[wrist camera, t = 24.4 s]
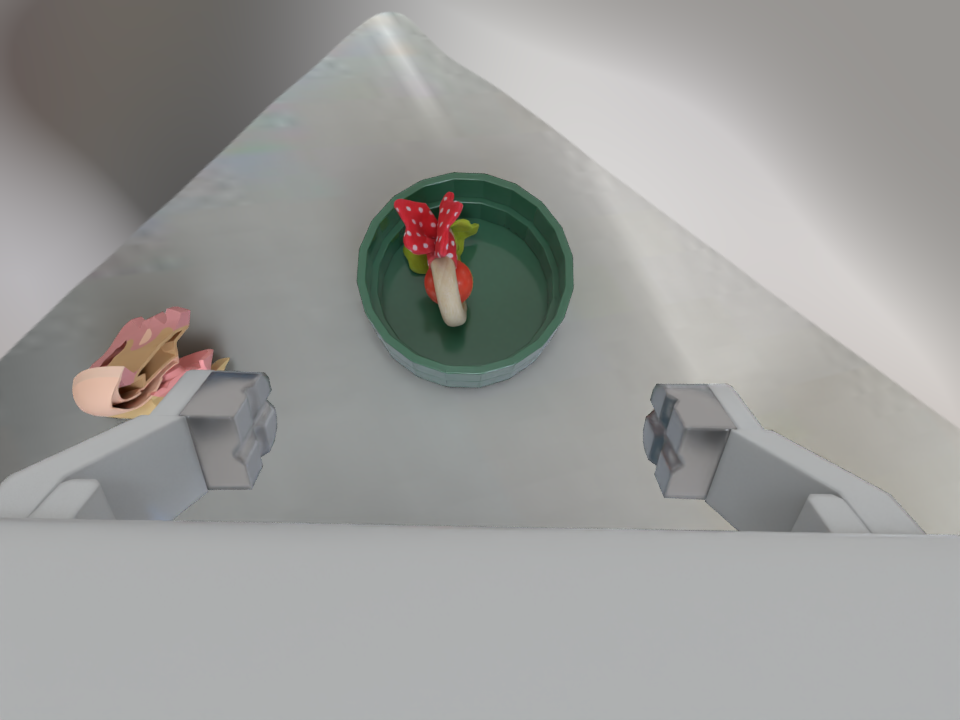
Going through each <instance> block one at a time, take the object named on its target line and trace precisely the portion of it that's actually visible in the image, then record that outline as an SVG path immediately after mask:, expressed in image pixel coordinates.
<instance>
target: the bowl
mask: <svg viewBox="0 0 960 720" xmlns="http://www.w3.org/2000/svg"><path fill="white" fill-rule="evenodd" d="M447 192H453V193H454V200H453V201H458V202H460V203H462V204H463V209H462V211H461V213H460V215H459V217H458V218H457V219H456V220H455V221H457V220H459V219H465V220H468V221H469V222H470V224H473V223H477V224H479V228H478V231H477V233H476V234H474V235H472V236H469V237H468V238H466V239H465V240H464V250H463V252H462V254H461V256H460V258H461V262H463V263H464V264H465V265H466V266H467V267H468V268H469V270H470V271H471V274H472V277H473V289H472V292H471V294H470V296H469V297H468V298H467V299H466V303H467V318H466V321H465V323H464V324H463V325H460V326H455V327H451V326H448V325H447V324H446V323H445V322H444V320H443V318H442V315H441V312H440V309H439V305H438V304H437V303H435V302H434V301H433V300H432V299H431V298H430V297H429V296H428V294H427V292H426V289H425V285H424V280H425V275H426V274H419V273H415V272H413V271H412V270H411V269H410V267H409V262H408V259H407V258H406V256H405V255H404V253H403V247H404V242H403V238H404V234H405V231H406V226H405V224H404V222H403V221H402V219H401V217H400V216H399V214H398V212H397V211H396V209H395V207H394V202H395V200H397V199H405V200H410V201H414V202H420V203H426V204H427V206H428V207H429V209H430V210H431V212H432V213H433V214H434V216H435V218H436V219H437V221H438V217H439V206H440V203H441V201H442V199H443V197H444V195H445V194H446V193H447ZM357 284H358V288H359V292H360V296H361V300H362V303H363V307H364V311H365V313H366V315H367V317H368V319H369V321H370V323H371V325H372V327H373V329H374V330H375V332H376V334H377V335H378V337H379V338H380V340H381V341H382V343H383V344H384V346H385V347H386V349H387V350H388V352H389V353H390V355H391V356H392V357H393V358H394V359H395V360H396V361H397V362H399V363H400V364H401V365H403V366H404V367H405V368H407V369H408V370H409V371H411V372H412V373H413V374H415V375H416V376H418V377H420V378H423V379H426V380H429V381H431V382H434V383H437V384H440V385H443V386H446V387H470V388H478V387H483V386H486V385H490V384H493V383H497V382H500V381H504V380H507V379H510V378H511V377H513V376H514V375H515V374H517V373H518V372H520V371H521V370H523V369H524V368H526V367H527V366H529V365H530V364H532V363H533V362H534V361H535V360H536V359H537V357H538V356H539V355H540V353H541V352H542V351H543V349H544V348H545V347H546V345H547V344H548V343H549V341H550V340H551V339H552V337H553V336H554V334H555V332H556V331H557V329H558V327H559V326H560V324H561V322H562V321H563V319H564V317H565V314H566V310H567V307H568V304H569V301H570V298H571V295H572V292H573V288H574V284H573V255H572V253H571V250H570V247H569V245H568V242H567V239H566V236H565V234H564V231H563V228H562V227H561V225H560V224H559V223H558V221H557V220H556V219H555V218H554V216H553V215H552V214H551V213H550V211H549V210H548V209H547V207H546V206H545V205H544V204H543V203H542V202H541V201H540V200H539V199H537V198H536V197H534V196H533V195H531V194H530V193H528V192H527V191H526V190H524V189H523V188H521V187H520V186H518V185H517V184H515V183H512V182H509V181H506V180H503V179H500V178H497V177H494V176H491V175H488V174H482V173H456V172H453V173H448V174H444V175H440V176H436V177H432V178H428V179H424V180H422V181H419V182H417V183H416V184H414V185H412V186H410V187H409V188H407V189H405V190H404V191H402V192H400V193H399V194H397V195H395V196H394V197H393V198H392V199H391V200H390V201H389V202H388V203H387V204H386V205H385V206H384V208H383V209H382V210H381V211H380V212H379V213H378V214H377V215H376V216H375V218H374V219H373V220H372V221H371V223H370V226H369V228H368V230H367V233H366V235H365V237H364V239H363V242H362V244H361V246H360V248H359V258H358V270H357Z"/></svg>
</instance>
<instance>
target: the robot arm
mask: <svg viewBox="0 0 960 720" xmlns="http://www.w3.org/2000/svg"><path fill="white" fill-rule="evenodd" d="M271 390H272V389H271V385H270V381H269V377H268V376H267V375H266V374H265V373H264V372H243V371H222V370H217V371H215V370H189V371H186V372H185V373H184V375H183V376H182V377H181V378H180V379H179V380H178V382H177V383H176V384H175V385H174V386H173V388H172V389H171V390H170V391H169V392H168V393H167V395H166V396H165V397H164V398H163V399H162V400H161V402H160V403H159V404H158V405H157V406H156V407H155V409H154V410H153V411H152V412H151V413H150V414H149V415H140V416H138V417H135V418H133V419H131V420H129V421H127V422H124V423H122V424H120V425H118V426H116V427H114V428H111V429H109V430H107V431H105V432H103V433H101V434H98V435H96V436H94V437H92V438H90V439H88V440H85V441H83V442H81V443H79V444H77V445H74V446H72V447H70V448H68V449H66V450H64V451H61V452H59V453H57V454H55V455H53V456H51V457H48V458H46V459H44V460H42V461H40V462H38V463H35V464H33V465H31V466H29V467H27V468H24V469H22V470H20V471H18V472H16V473H14V474H11V475H9V476H8V477H7V478H6V479H5V480H4V481H3V482H2V483H1V484H0V720H960V535H933V534H926V533H925V532H924V531H923V530H922V529H921V527H920V526H919V525H918V524H917V523H916V522H915V521H914V520H913V519H912V517H911V516H910V515H909V514H908V513H907V512H906V511H905V510H904V509H903V508H902V506H901V505H900V504H899V503H898V502H897V501H896V500H895V499H894V498H893V496H892V495H891V494H889V493H887V492H885V491H883V490H882V489H880V488H878V487H876V486H874V485H872V484H871V483H869V482H867V481H865V480H863V479H861V478H859V477H858V476H856V475H854V474H852V473H850V472H848V471H846V470H845V469H843V468H841V467H839V466H837V465H835V464H834V463H832V462H830V461H828V460H826V459H824V458H822V457H821V456H819V455H817V454H815V453H813V452H811V451H809V450H808V449H806V448H804V447H802V446H800V445H798V444H797V443H795V442H793V441H791V440H789V439H787V438H785V437H784V436H782V435H780V434H778V433H776V432H774V431H773V430H764V428H763V427H762V426H761V424H760V423H759V422H758V420H757V419H756V418H755V416H754V415H753V414H752V412H751V411H750V410H749V408H748V407H747V406H746V404H745V403H744V402H743V400H742V399H741V398H740V396H739V395H738V394H737V392H736V391H735V390H734V388H733V387H732V386H730V385H728V384H656V386H655V387H654V389H653V392H652V395H651V399H650V401H651V403H652V405H653V407H654V410H653V411H652V412H651V413H650V414H649V415H648V416H646V419H645V424H644V428H643V444H644V449H645V453H646V455H647V458H648V460H649V461H651V462H652V463H653V464H655V465H656V466H657V467H656V471H655V474H654V475H655V477H656V480H657V482H658V484H659V487H660V489H661V491H662V494H663V496H664V498H679V499H701V500H705V502H706V503H707V504H709V505H710V506H711V507H712V508H713V509H714V510H715V511H716V512H718V513H719V514H720V515H721V516H722V517H723V518H724V519H725V520H727V521H728V522H729V523H730V524H731V525H732V526H733V527H734V528H736V529H737V530H738V531H715V530H659V529H603V528H547V527H492V526H437V525H383V524H328V523H273V522H219V521H172V520H173V519H174V518H175V517H177V516H178V515H179V514H181V513H182V512H183V511H184V510H186V509H187V508H188V507H189V506H191V505H192V504H193V503H195V502H196V501H197V500H198V499H200V498H201V497H202V496H203V495H205V494H206V493H207V492H208V490H245V489H252V488H253V486H254V484H255V482H256V480H257V477H258V475H259V473H260V471H261V469H262V467H263V464H262V459H261V457H262V456H264V455H265V454H267V453H268V452H270V451H271V448H272V446H273V444H274V442H275V437H276V431H277V416H276V410H275V407H274V406H273V405H272V404H271V403H270V402H269V401H268V400H267V398H268V396H269V394H270V392H271Z"/></svg>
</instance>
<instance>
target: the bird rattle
mask: <svg viewBox="0 0 960 720" xmlns="http://www.w3.org/2000/svg"><path fill="white" fill-rule="evenodd" d="M453 200H454V193H453V192H447V193H446V194H445V195H444V197H443V199H442V201H441V203H440V206H439V217H438V221H437V219H436V218H435V216H434V214H433V213H432V212H431V210H430V209H429V207H428V206H427V204H426V203H420V202H414V201H410V200H405V199H397V200H395V202H394V207H395V209H396V211H397V212H398V214H399V216H400V217H401V219H402V221H403V222H404V224H405V226H406V231H405V234H404V238H403V242H404V247H403V253H404V255H405V256H406V258H407V259H408V262H409V267H410V269H411V270H412V271H413V272H415V273H419V274H426V275H425V280H424V285H425V289H426V292H427V294H428V296H429V297H430V298H431V299H432V300H433V301H434V302H435V303H437V304H438V305H439V309H440V312H441V315H442V318H443V320H444V322H445V323H446V324H447V325H448V326H451V327H455V326H460V325H463V324H464V323H465V321H466V318H467V303H466V299H467V298H468V297H469V296H470V294H471V292H472V289H473V277H472V274H471V271H470V270H469V268H468V267H467V266H466V265H465V264H464V263H463V262H461V258H460V256H461V254H462V252H463V250H464V240H465V239H466V238H468V237H469V236H472V235H474V234H476V233H477V231H478V228H479V224H477V223H473V224H470V222H469V221H468V220H465V219H459V220H457V221H455V220H456V219H457V218H458V217H459V215H460V213H461V211H462V209H463V204H462V203H460V202H458V201H453Z"/></svg>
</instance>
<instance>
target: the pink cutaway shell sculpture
mask: <svg viewBox="0 0 960 720" xmlns="http://www.w3.org/2000/svg"><path fill="white" fill-rule="evenodd" d="M189 321H190V310H188V309H185V308H181V307H171V308H168V309H167V310H166V314H165V313H164V312H161V313H159V314H157V315H155V316H153V317H151V318H149V319H147V320H145V319H143V318H142V317H138V318H135V319H132V320H130V321H129V322H128V323H127V324H126V325H125V326H124V327H123V328H122V329H121V331H120V332H119V333H118V335H117V337H116V338H115V340H114V342H113V343H112V345H111V346H110V347H109V349H108V350H107V351H106V353H105V354H104V355H103V356H102V357H101V358H100V359H98V360H97V361H96V362H95V363H94V364H93V365H92V366H91V367H90V368H89V369H87V370H84V371H82V372H80V373H79V374H78V375H77V376H76V377H75V378H74V380H73V389H72V392H73V397H74V400H75V402H76V404H77V405H78V407H79V408H80V409H81V410H82V411H84V412H86V413H87V414H91V415H94V416H103V417H113V418H130V419H133V418H135V417H138V416H140V415H149V414H150V413H151V412H152V411H153V410H154V409H155V407H156V406H157V405H158V404H159V403H160V402H161V400H162V399H163V398H164V397H165V396H166V395H167V393H168V392H169V391H170V390H171V389H172V388H173V386H174V385H175V384H176V383H177V382H178V380H179V379H180V378H181V377H182V376H183V375H184V373H185V372H186V371H189V370H215V371H217V370H222V371H224V370H225V366H226V365H227V363H228V361H229V359H230V358H223V359H219V360H217V361H216V362H215V363H213V364H212V365H211V363H212V357H213V349H206V350H202V351H199V352H195V353H192V354H190V355H187V356H184V357H182V358H179V357H178V350H177V341H178V340H179V338H180V337H181V336H182V335H183V333H184V332H185V331H186V330H187V328H188V327H189Z"/></svg>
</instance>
